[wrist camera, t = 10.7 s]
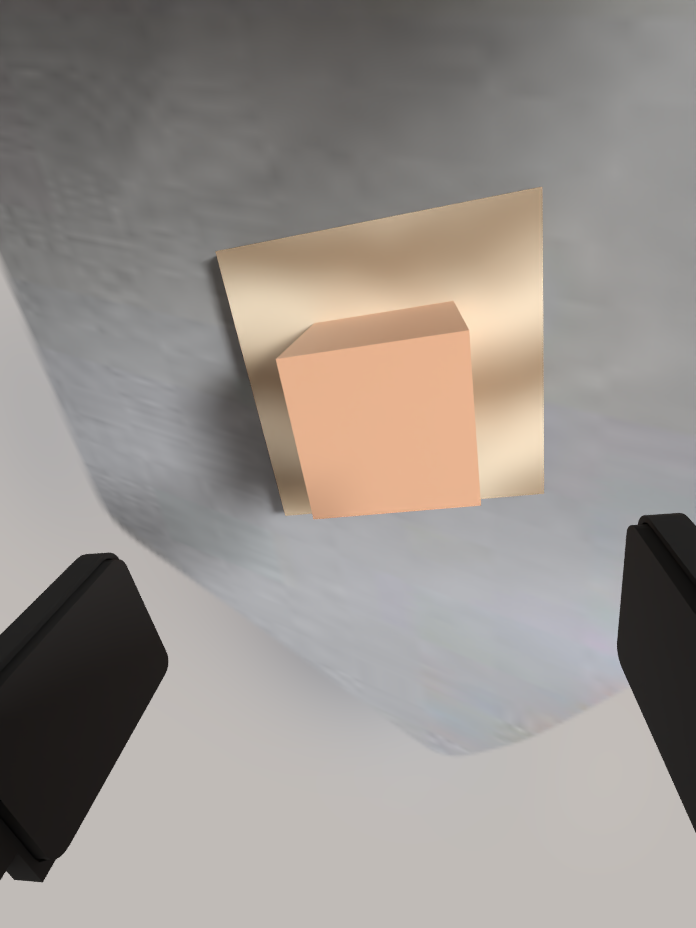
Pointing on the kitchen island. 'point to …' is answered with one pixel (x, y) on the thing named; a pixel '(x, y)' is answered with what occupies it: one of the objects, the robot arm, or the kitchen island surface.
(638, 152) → the kitchen island surface
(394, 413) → the peach tan cube
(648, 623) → the robot arm
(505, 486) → the birch board
